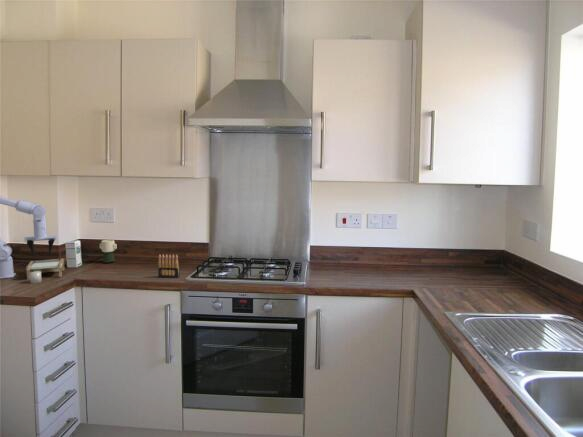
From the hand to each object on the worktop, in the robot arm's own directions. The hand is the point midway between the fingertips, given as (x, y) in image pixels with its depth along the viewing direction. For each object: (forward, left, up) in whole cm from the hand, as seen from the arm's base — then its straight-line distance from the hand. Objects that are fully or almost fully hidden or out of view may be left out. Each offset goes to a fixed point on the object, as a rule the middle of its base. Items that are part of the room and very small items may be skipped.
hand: (41, 254), depth 227 cm
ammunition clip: (+60, -34, -11) cm, 70 cm away
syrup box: (+14, +12, -11) cm, 21 cm away
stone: (-1, -18, -10) cm, 21 cm away
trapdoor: (+2, -5, -5) cm, 8 cm away
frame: (+2, -4, -10) cm, 12 cm away
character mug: (+32, +15, -11) cm, 37 cm away
